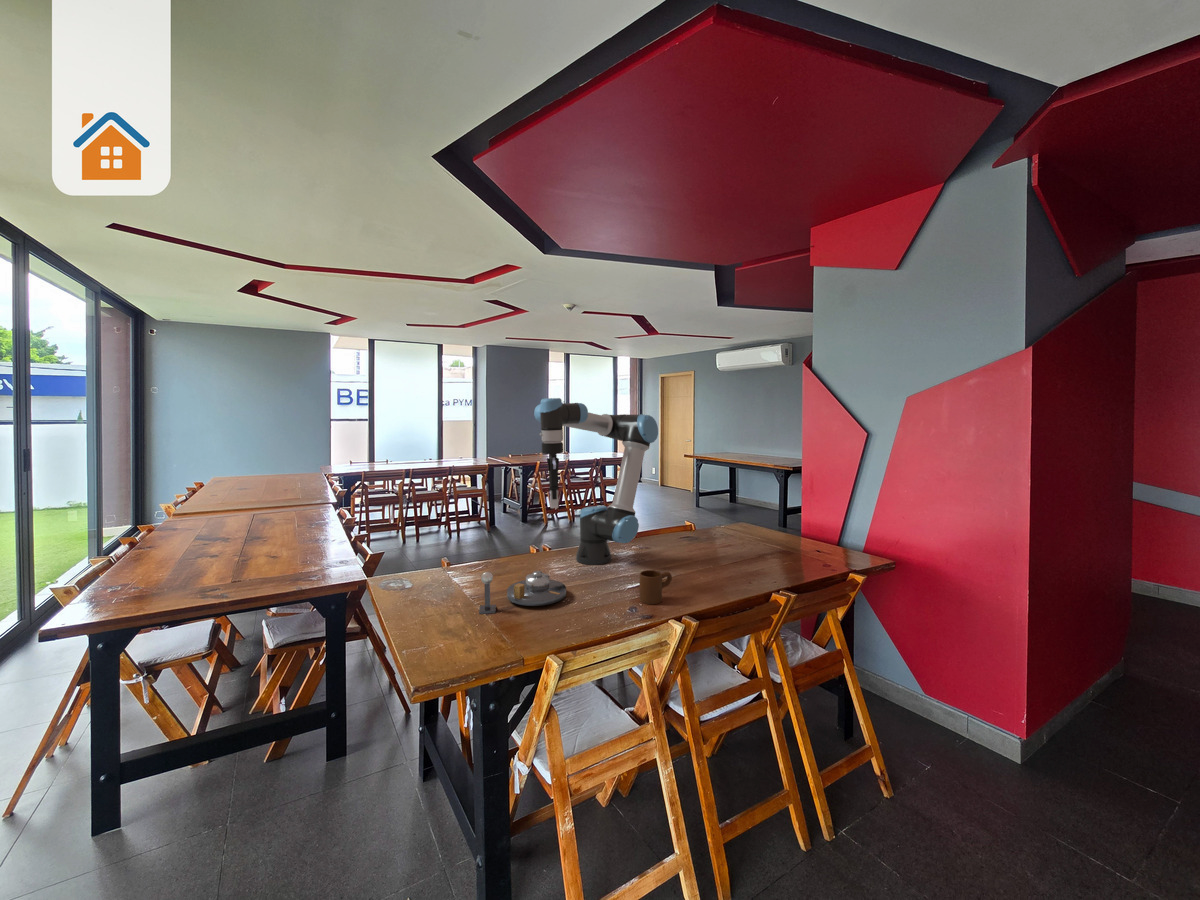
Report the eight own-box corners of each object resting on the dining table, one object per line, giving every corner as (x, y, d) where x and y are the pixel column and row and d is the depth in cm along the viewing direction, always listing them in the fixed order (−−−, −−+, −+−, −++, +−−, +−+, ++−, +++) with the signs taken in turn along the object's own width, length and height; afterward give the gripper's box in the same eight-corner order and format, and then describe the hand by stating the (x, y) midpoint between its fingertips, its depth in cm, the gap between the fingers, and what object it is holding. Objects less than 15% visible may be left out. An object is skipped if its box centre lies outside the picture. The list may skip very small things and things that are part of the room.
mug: (665, 593, 173) (665, 567, 172) (677, 600, 166) (677, 573, 165) (635, 598, 168) (635, 571, 167) (646, 606, 161) (646, 578, 160)
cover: (521, 589, 167) (520, 573, 167) (536, 582, 174) (536, 567, 174) (538, 593, 163) (538, 577, 163) (554, 586, 170) (554, 571, 169)
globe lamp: (480, 607, 159) (479, 569, 158) (495, 606, 160) (495, 568, 159) (479, 614, 155) (478, 574, 154) (495, 613, 155) (494, 573, 154)
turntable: (494, 598, 164) (493, 580, 164) (532, 580, 182) (532, 564, 181) (541, 610, 154) (540, 592, 153) (577, 590, 171) (577, 574, 171)
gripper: (540, 440, 179) (542, 504, 181) (542, 444, 166) (545, 512, 168) (560, 440, 180) (562, 503, 183) (564, 443, 167) (566, 511, 170)
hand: (554, 507), depth 175 cm, fingers closed
